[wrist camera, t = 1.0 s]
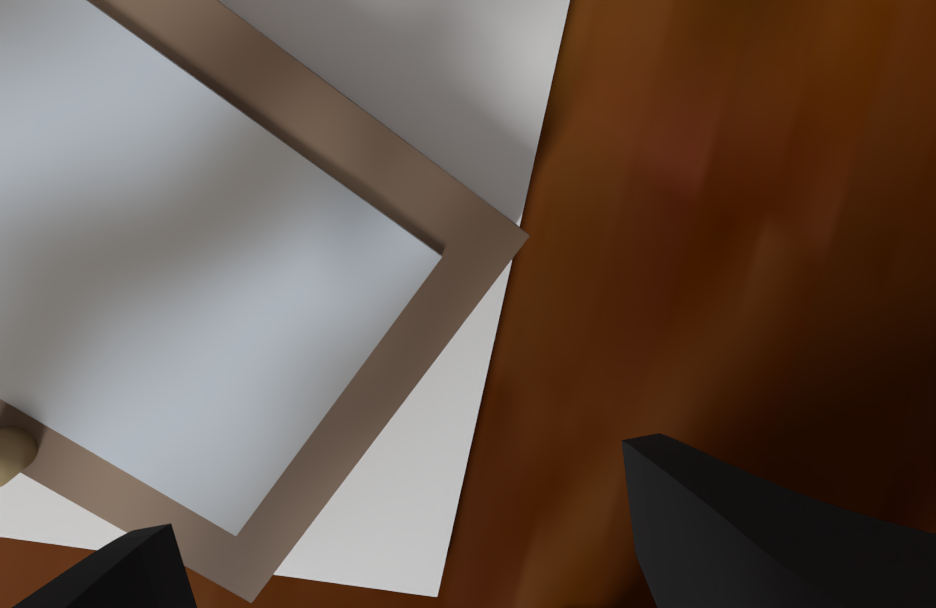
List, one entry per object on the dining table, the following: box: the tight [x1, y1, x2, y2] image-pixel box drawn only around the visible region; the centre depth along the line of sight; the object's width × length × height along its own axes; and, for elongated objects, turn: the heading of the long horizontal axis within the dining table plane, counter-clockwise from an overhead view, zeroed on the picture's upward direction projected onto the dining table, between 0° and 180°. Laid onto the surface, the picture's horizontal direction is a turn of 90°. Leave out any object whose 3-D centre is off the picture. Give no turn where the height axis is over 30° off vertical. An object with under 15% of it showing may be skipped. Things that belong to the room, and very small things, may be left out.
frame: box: [0, 0, 529, 603], centre depth 16 cm, size 14×12×3 cm
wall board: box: [0, 0, 570, 597], centre depth 17 cm, size 20×18×3 cm
